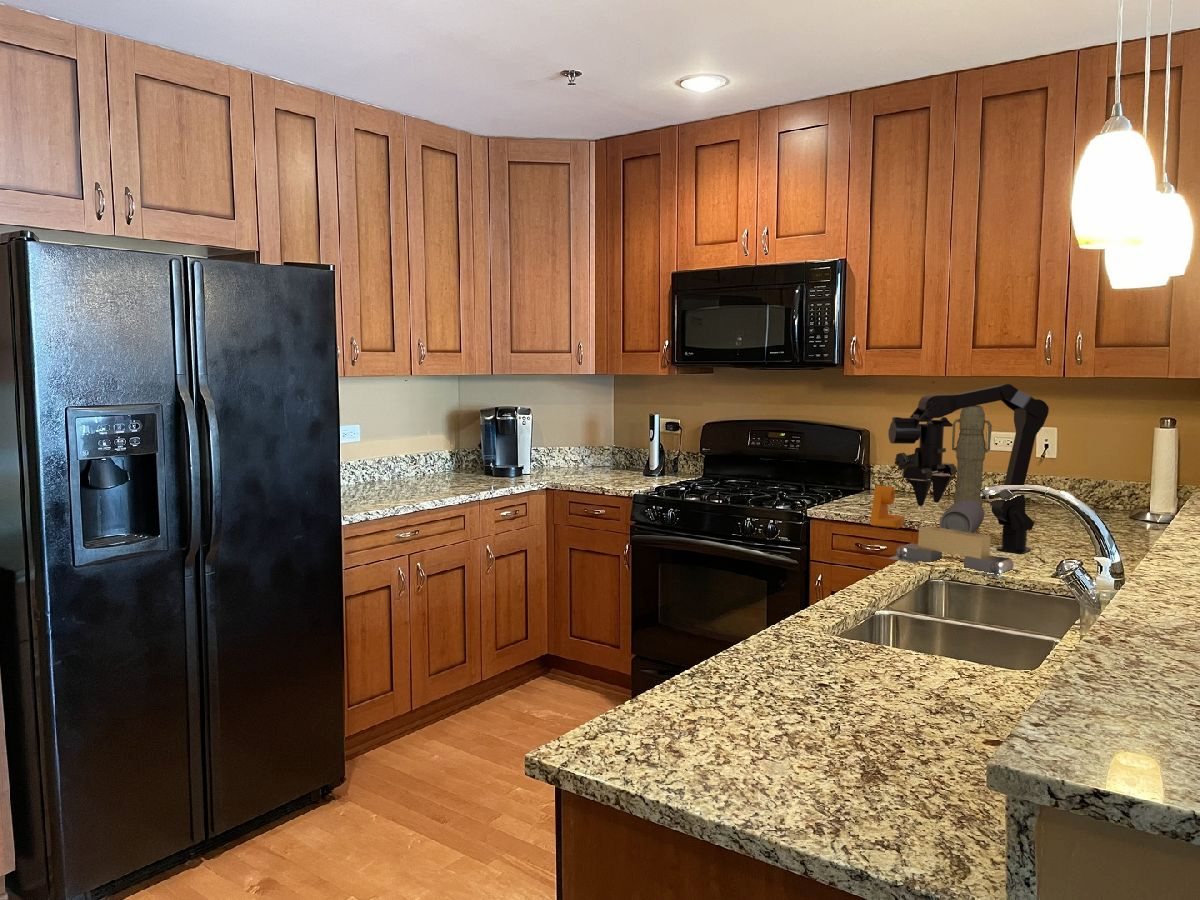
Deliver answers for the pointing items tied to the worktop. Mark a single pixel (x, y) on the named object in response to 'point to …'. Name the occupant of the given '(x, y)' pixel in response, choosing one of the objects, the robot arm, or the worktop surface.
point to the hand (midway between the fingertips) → (928, 504)
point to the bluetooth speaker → (963, 516)
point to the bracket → (884, 508)
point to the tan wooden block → (954, 542)
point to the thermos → (970, 453)
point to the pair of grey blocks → (986, 564)
